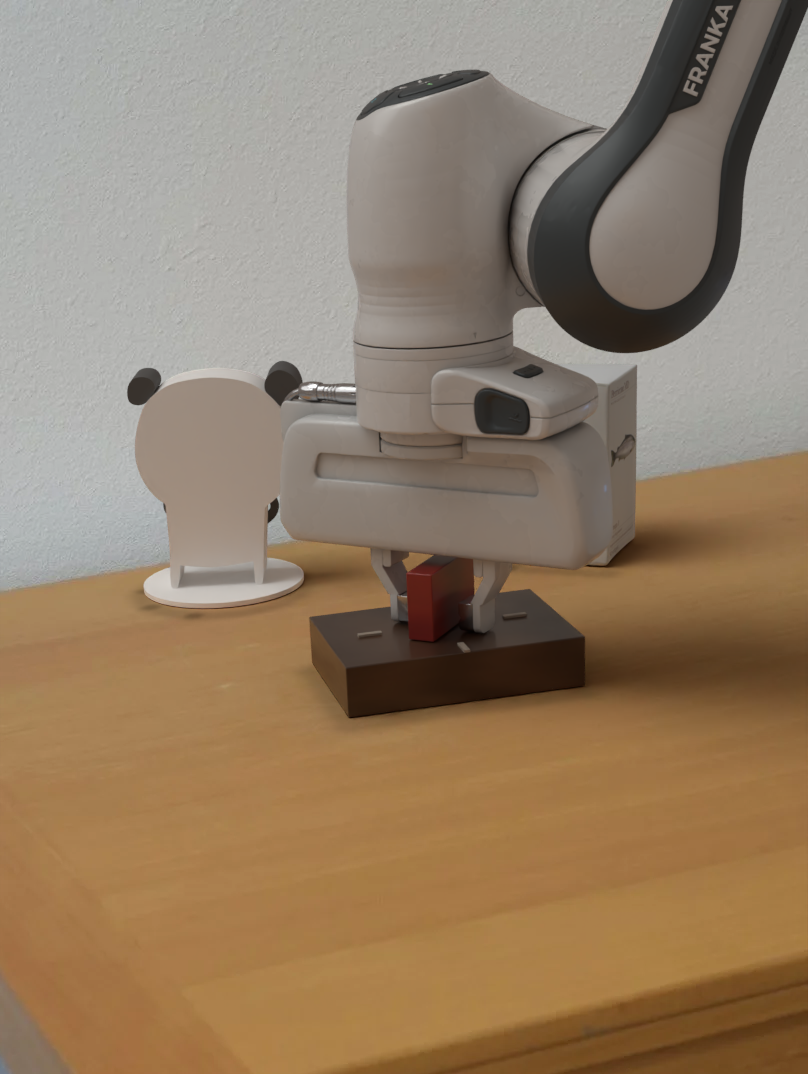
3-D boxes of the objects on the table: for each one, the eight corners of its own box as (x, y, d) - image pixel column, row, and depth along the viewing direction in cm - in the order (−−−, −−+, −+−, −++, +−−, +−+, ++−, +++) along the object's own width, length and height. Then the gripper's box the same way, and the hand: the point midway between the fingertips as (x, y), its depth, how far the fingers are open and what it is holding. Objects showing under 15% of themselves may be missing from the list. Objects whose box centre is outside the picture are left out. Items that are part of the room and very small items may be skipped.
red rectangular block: (433, 642, 104) (431, 570, 103) (408, 639, 105) (405, 568, 103) (475, 611, 109) (473, 542, 107) (451, 608, 110) (448, 540, 108)
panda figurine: (317, 556, 133) (304, 348, 127) (309, 603, 123) (294, 379, 117) (154, 564, 134) (134, 359, 128) (133, 611, 124) (110, 390, 118)
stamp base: (530, 634, 114) (529, 585, 113) (586, 686, 105) (586, 634, 103) (311, 662, 112) (308, 613, 111) (348, 718, 103) (345, 665, 101)
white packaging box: (608, 567, 125) (609, 383, 120) (506, 561, 129) (502, 381, 124) (638, 539, 131) (640, 361, 126) (540, 533, 135) (538, 360, 130)
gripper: (249, 390, 105) (266, 620, 110) (575, 409, 94) (576, 663, 99) (308, 369, 109) (322, 590, 115) (626, 384, 98) (624, 628, 104)
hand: (442, 624), depth 107 cm, fingers open, 3 cm apart
